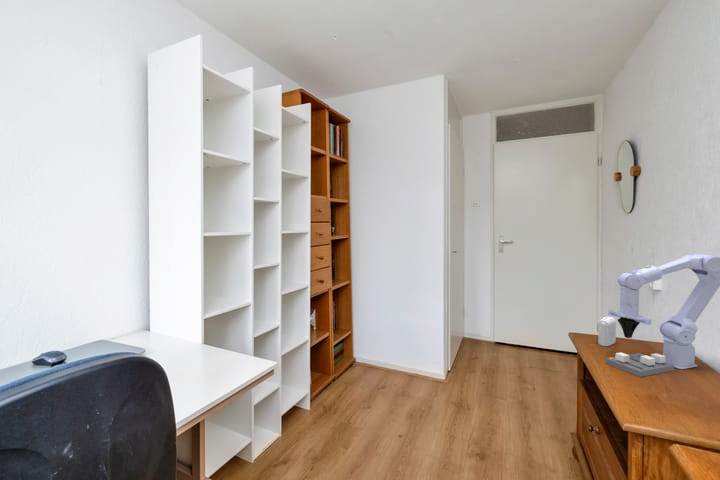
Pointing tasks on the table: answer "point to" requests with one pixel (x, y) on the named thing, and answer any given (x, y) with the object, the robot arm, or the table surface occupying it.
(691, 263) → the robot arm
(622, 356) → the switch
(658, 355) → the switch
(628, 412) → the table surface
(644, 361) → the switch middle
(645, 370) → the switch panel
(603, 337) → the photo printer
